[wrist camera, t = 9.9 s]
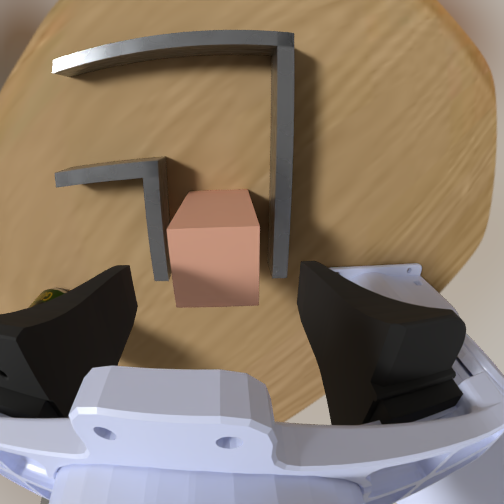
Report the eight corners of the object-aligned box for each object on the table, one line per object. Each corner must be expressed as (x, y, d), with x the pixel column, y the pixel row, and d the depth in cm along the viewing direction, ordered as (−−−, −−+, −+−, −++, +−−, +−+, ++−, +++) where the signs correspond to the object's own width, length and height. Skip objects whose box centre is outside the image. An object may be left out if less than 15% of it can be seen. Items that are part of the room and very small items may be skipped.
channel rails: (286, 43, 16) (294, 33, 14) (280, 261, 22) (286, 277, 20) (70, 65, 15) (53, 59, 12) (87, 266, 21) (74, 280, 19)
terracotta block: (247, 189, 20) (259, 226, 13) (247, 243, 21) (258, 305, 14) (189, 191, 20) (166, 229, 12) (192, 245, 21) (176, 307, 14)
